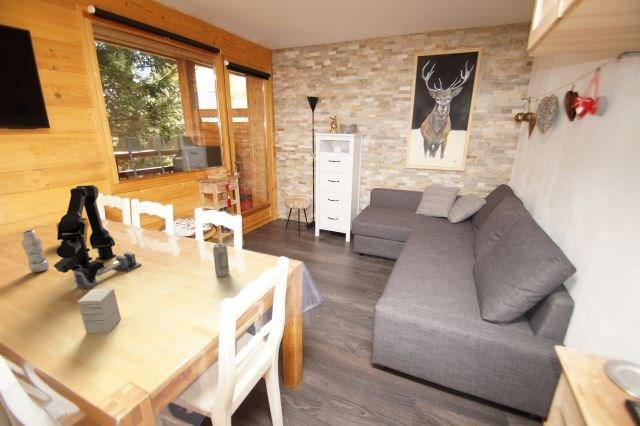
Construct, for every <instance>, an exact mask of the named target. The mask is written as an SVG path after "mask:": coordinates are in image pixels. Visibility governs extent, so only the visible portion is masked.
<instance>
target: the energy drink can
mask: <svg viewBox="0 0 640 426" xmlns="http://www.w3.org/2000/svg"><path fill="white" fill-rule="evenodd" d="M212 252H213V253H212V254H213V260H214V263H213V264H214V270H215V271H214V272H215V275H216V276H217V277H219V278H225V277H227V276H228V275H229V273H230V266H229V256H228V255H229V254H228V246H227V245H226V243H225V242H224V243H223V242H218V243H215V244H214V245H213V248H212Z"/></svg>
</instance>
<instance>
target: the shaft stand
mask: <svg viewBox="0 0 640 426" xmlns="http://www.w3.org/2000/svg"><path fill="white" fill-rule="evenodd" d="M115 259H116V260H115V261H114V262H112V263H109V262H107V263H104V267H103V268H101V269H99V270H98V271H97V274H96V276H97V277H99V276H102V275H103V274H106V273H108V272H111V271H113V270H114V269H115V270H119V271H123V272H127V273H129V272H131V271H133V270H135V269H137V268H140V267H141V266H142V263H139V262H137V261H136V255H135V253H132V252H125V253H123V255H116V256H115Z"/></svg>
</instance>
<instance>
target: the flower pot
mask: <svg viewBox="0 0 640 426" xmlns="http://www.w3.org/2000/svg"><path fill="white" fill-rule="evenodd" d="M82 219H83V220H84V222H85V224H86V229H85V234H84V238H85V242H87V241H88V231H89V230H88V228H89V226H90V223H89V220H88V217H82ZM59 223H60V221H58V222H56V224H55V226H56V229H57V230H58V224H59ZM70 234H72V233H70ZM63 235H67V234H63Z"/></svg>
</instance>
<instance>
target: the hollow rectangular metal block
mask: <svg viewBox="0 0 640 426" xmlns="http://www.w3.org/2000/svg"><path fill="white" fill-rule="evenodd" d="M82 267H83V266H82ZM82 267H80V268H77V269H75V270H73V271H72V273H73V275H74V279H75V280H74V281H75V283H76V287H78V288H79V287H80V288H83V289H86V290H88V289H90V288H92V287H95V286H97V285H98V283H97V282H98V281H97V278H96V276H95V279H94V282H93V283H90V282H89V280H88V278H87V275H86V274H85V273H82V271H83V269H82Z"/></svg>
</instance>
